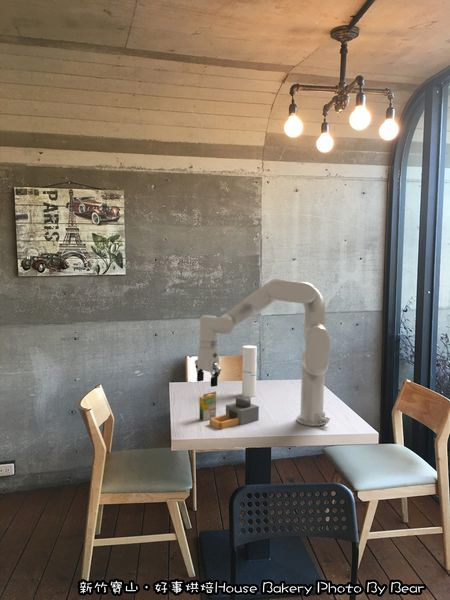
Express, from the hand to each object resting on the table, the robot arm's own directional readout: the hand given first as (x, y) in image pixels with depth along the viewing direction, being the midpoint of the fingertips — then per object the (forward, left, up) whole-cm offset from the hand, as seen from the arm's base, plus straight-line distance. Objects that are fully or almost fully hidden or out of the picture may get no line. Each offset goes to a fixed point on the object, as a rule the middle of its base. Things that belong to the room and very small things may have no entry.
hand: (206, 383), depth 194 cm
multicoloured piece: (-10, -6, -15) cm, 20 cm away
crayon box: (0, 0, -16) cm, 16 cm away
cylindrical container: (+15, -38, -16) cm, 44 cm away
